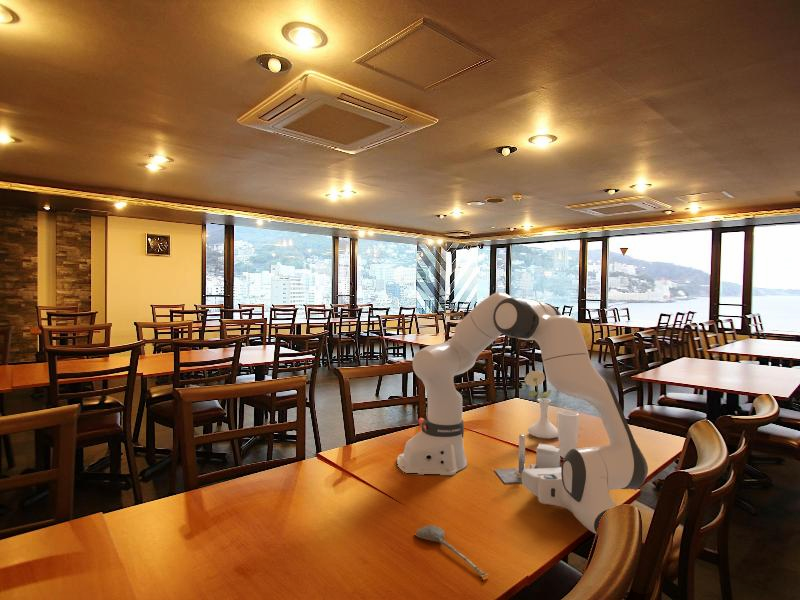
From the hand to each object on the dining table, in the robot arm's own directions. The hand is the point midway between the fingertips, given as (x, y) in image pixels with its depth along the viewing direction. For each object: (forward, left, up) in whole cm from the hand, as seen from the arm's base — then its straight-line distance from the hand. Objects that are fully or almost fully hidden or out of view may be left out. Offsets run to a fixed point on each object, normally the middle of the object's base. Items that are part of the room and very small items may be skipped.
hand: (548, 466), depth 127 cm
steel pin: (-4, +10, -7) cm, 12 cm away
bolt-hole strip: (+2, +10, -7) cm, 12 cm away
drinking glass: (+17, +22, -7) cm, 28 cm away
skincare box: (0, +1, -7) cm, 7 cm away
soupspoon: (-34, -25, -8) cm, 43 cm away
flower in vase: (+17, +42, -7) cm, 45 cm away
